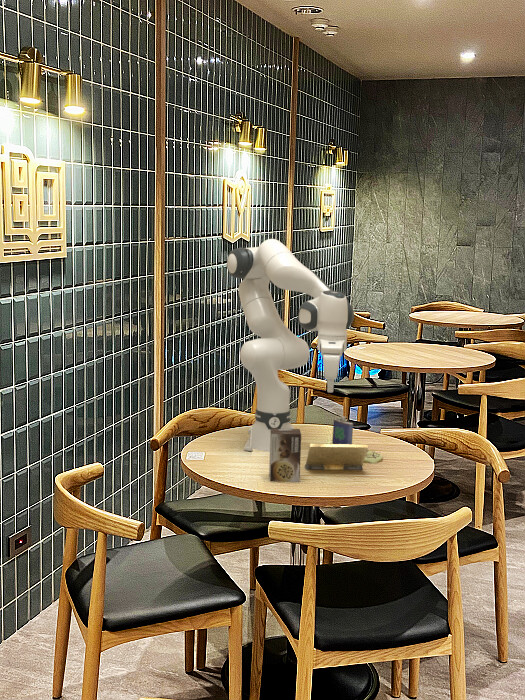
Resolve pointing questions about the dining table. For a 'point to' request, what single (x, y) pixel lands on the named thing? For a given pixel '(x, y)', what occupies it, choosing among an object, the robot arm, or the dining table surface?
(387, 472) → the dining table surface
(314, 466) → the hinge base
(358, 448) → the flap
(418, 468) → the dining table surface
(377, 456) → the decorated donut
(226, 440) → the dining table surface
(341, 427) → the flask
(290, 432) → the coffee box
